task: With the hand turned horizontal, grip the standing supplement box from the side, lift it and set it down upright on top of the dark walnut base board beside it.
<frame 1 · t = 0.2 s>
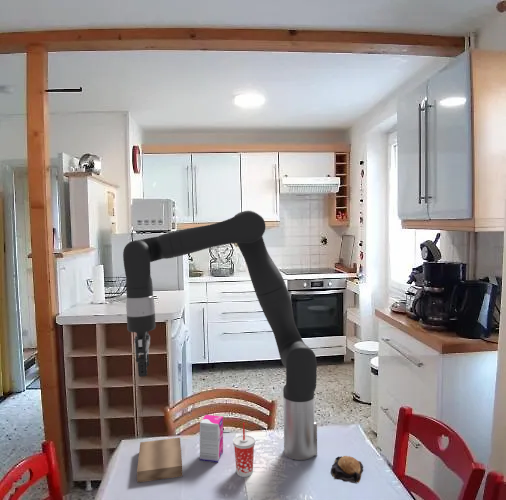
hand: (144, 370, 115), 29 cm above the table, tool pointing down, fingers open, 8 cm apart
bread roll: (347, 472, 116), on the table
supplement box: (211, 457, 124), on the table
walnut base: (160, 463, 121), on the table
beverage cup: (244, 472, 116), on the table
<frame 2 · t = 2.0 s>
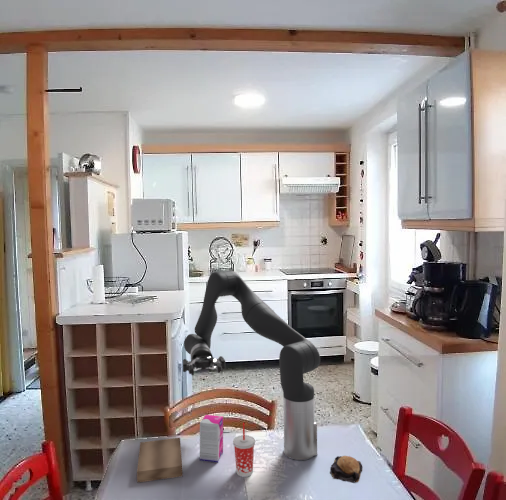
hand: (205, 371, 135), 22 cm above the table, tool horizontal, fingers open, 8 cm apart
nothing on the table moved.
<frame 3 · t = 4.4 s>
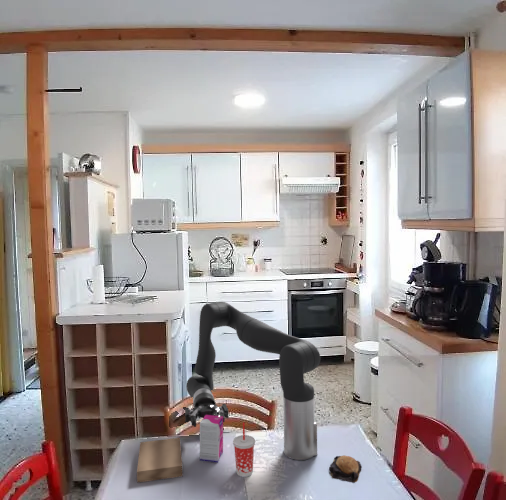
hand: (208, 422, 132), 6 cm above the table, tool horizontal, fingers open, 8 cm apart
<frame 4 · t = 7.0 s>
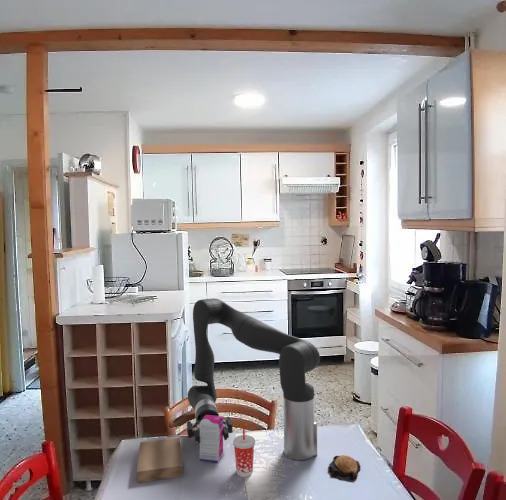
hand: (212, 438, 122), 7 cm above the table, tool horizontal, fingers closed on supplement box, 7 cm apart
supplement box: (211, 457, 124), on the table, touching gripper
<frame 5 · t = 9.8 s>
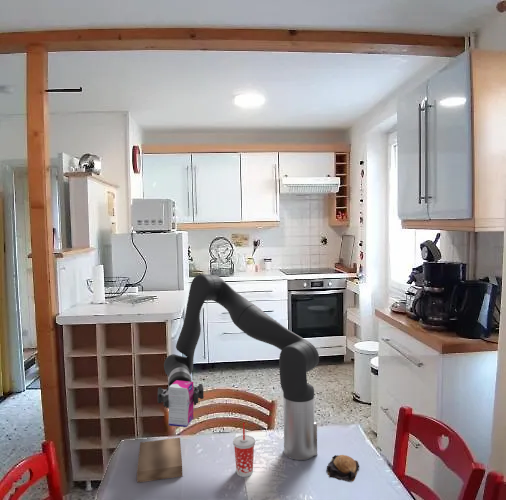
hand: (181, 403, 120), 18 cm above the table, tool horizontal, fingers closed on supplement box, 7 cm apart
supplement box: (181, 422, 122), point 11 cm above the table, touching gripper
when the fingers open (10 cm above the table, at t = 12.8 s): supplement box stays where it is, resting on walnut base.
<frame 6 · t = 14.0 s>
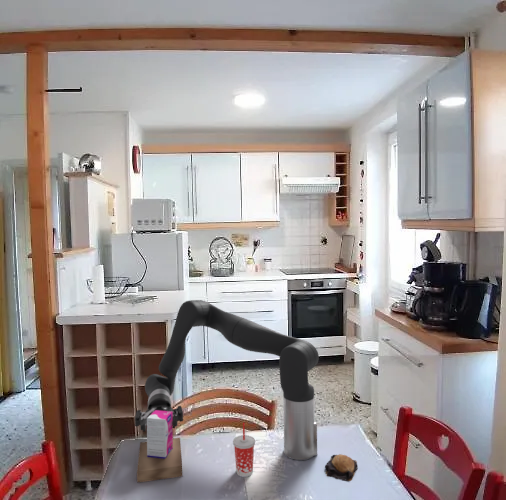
hand: (159, 426, 121), 11 cm above the table, tool horizontal, fingers open, 8 cm apart
supplement box: (160, 453, 121), point 3 cm above the table, touching gripper, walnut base
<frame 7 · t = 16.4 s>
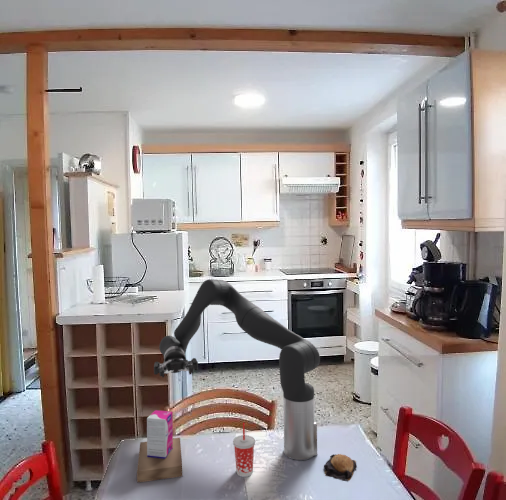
hand: (176, 372, 132), 23 cm above the table, tool horizontal, fingers open, 8 cm apart
supplement box: (160, 453, 121), point 3 cm above the table, touching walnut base
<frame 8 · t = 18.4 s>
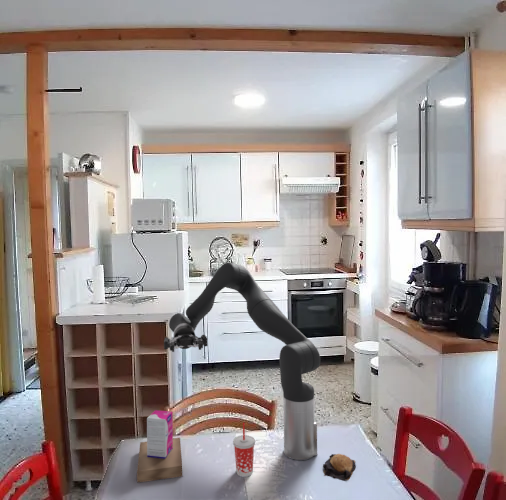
hand: (186, 347, 133), 30 cm above the table, tool horizontal, fingers open, 8 cm apart
at the end: supplement box inside the target area on the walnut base (0.1 cm from its centre), point 2.8 cm above the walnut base's base; supplement box tilted 0°; the gripper is holding nothing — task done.
